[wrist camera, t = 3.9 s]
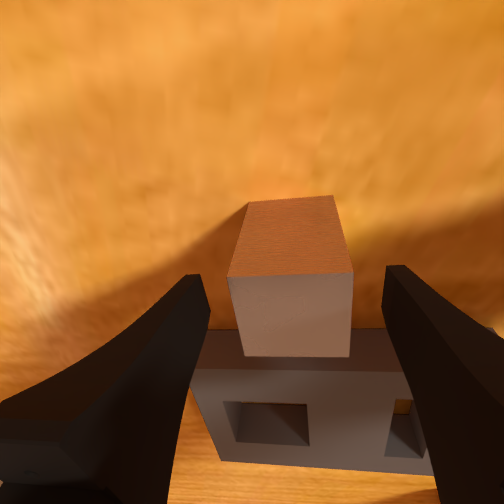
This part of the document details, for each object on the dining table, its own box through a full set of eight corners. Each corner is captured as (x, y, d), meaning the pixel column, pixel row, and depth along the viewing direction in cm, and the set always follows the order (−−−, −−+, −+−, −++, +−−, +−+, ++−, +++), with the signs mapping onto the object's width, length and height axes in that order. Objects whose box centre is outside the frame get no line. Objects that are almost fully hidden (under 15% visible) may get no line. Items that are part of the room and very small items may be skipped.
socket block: (492, 328, 17) (526, 374, 15) (448, 433, 24) (466, 478, 21) (195, 330, 20) (182, 368, 18) (227, 423, 27) (221, 460, 24)
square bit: (332, 194, 14) (354, 272, 9) (332, 263, 16) (348, 357, 11) (249, 201, 15) (226, 277, 10) (259, 267, 17) (244, 356, 12)
